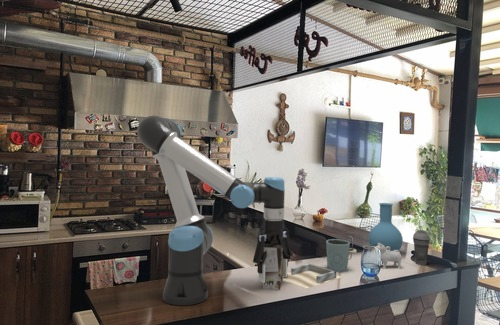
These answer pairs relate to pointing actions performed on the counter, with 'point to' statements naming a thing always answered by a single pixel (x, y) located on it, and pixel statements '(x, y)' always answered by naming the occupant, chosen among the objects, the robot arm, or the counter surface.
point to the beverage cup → (421, 246)
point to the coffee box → (273, 267)
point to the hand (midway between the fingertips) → (273, 278)
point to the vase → (386, 230)
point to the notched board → (310, 275)
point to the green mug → (337, 254)
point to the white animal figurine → (389, 256)
